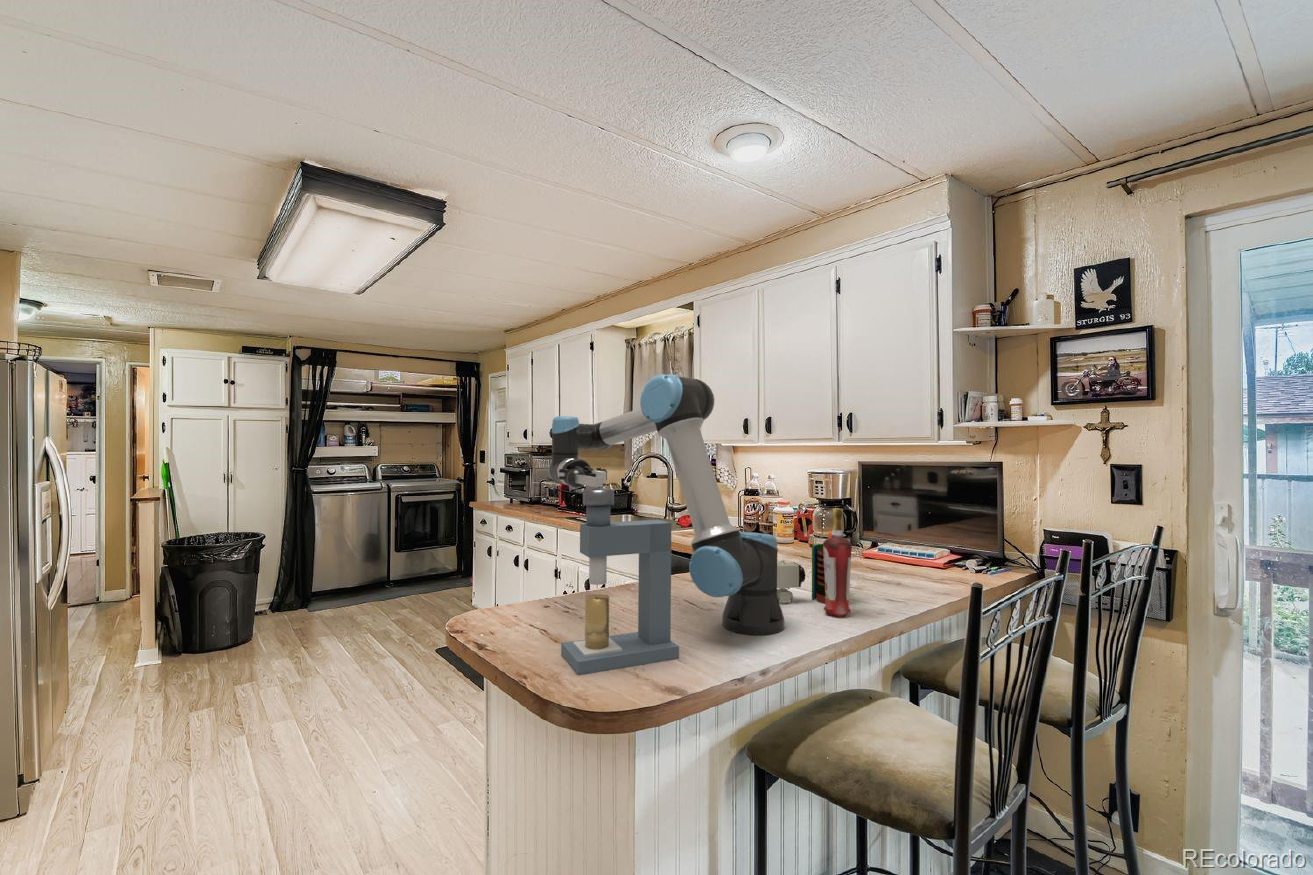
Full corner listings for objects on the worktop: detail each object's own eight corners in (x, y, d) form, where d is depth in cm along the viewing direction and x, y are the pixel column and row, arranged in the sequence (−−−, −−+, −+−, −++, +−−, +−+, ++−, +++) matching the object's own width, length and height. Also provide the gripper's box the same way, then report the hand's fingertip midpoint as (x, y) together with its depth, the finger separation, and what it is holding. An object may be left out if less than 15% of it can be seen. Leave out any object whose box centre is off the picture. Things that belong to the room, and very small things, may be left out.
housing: (610, 641, 123) (610, 594, 124) (606, 649, 118) (607, 600, 119) (587, 640, 124) (587, 593, 124) (582, 649, 119) (583, 599, 119)
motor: (810, 602, 166) (811, 532, 166) (813, 595, 174) (813, 528, 175) (848, 606, 163) (848, 534, 163) (848, 598, 171) (848, 530, 171)
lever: (586, 496, 139) (586, 468, 139) (618, 505, 120) (618, 472, 120) (559, 497, 137) (560, 468, 137) (588, 506, 117) (588, 473, 117)
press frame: (655, 640, 133) (656, 500, 134) (678, 658, 122) (680, 505, 123) (561, 654, 124) (562, 503, 124) (577, 674, 113) (579, 509, 113)
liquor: (818, 610, 158) (819, 507, 158) (845, 610, 159) (845, 507, 159) (828, 618, 151) (828, 510, 151) (856, 618, 151) (856, 510, 152)
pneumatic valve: (805, 603, 165) (805, 561, 165) (766, 605, 163) (766, 562, 163) (797, 598, 171) (797, 557, 171) (759, 600, 168) (759, 558, 169)
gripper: (597, 485, 161) (628, 492, 140) (550, 487, 156) (576, 494, 134) (597, 458, 161) (629, 461, 140) (551, 458, 156) (576, 461, 134)
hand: (603, 477), depth 137 cm, fingers closed
